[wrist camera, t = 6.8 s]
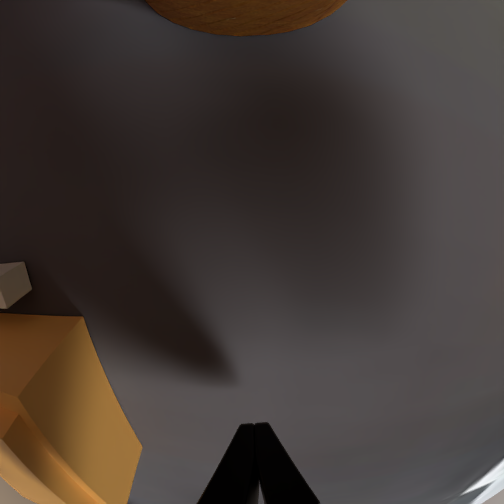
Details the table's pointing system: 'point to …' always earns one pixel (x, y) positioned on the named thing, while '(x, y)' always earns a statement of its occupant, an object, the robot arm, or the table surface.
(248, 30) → the disposable coffee cup
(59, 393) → the orange block with panel
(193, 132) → the table surface
